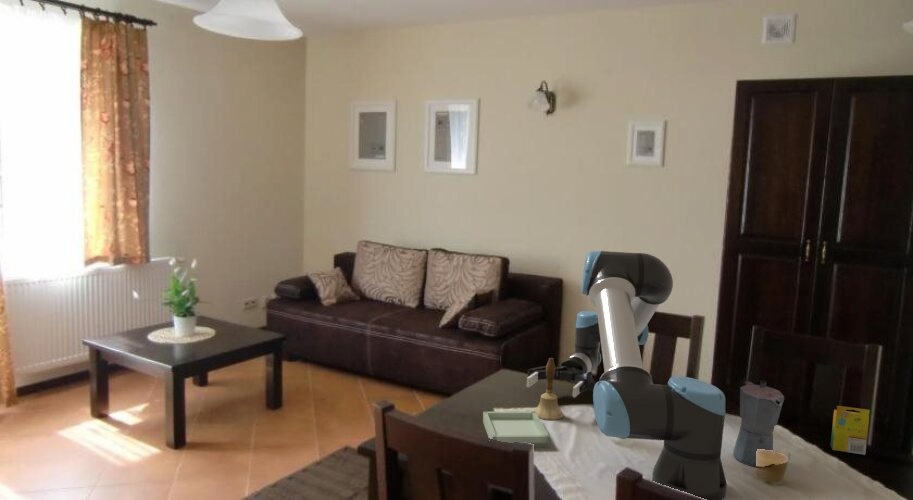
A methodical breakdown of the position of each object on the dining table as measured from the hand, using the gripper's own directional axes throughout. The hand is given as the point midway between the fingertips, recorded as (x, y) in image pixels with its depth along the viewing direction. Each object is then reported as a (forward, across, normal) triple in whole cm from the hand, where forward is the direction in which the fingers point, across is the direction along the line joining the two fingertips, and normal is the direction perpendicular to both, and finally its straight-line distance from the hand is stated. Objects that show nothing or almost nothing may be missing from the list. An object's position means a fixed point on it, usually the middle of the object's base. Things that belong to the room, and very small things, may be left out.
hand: (550, 387), depth 179 cm
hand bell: (+2, 0, -8) cm, 8 cm away
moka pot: (0, -52, -8) cm, 52 cm away
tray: (+19, +2, -7) cm, 21 cm away
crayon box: (-20, -72, -8) cm, 75 cm away
